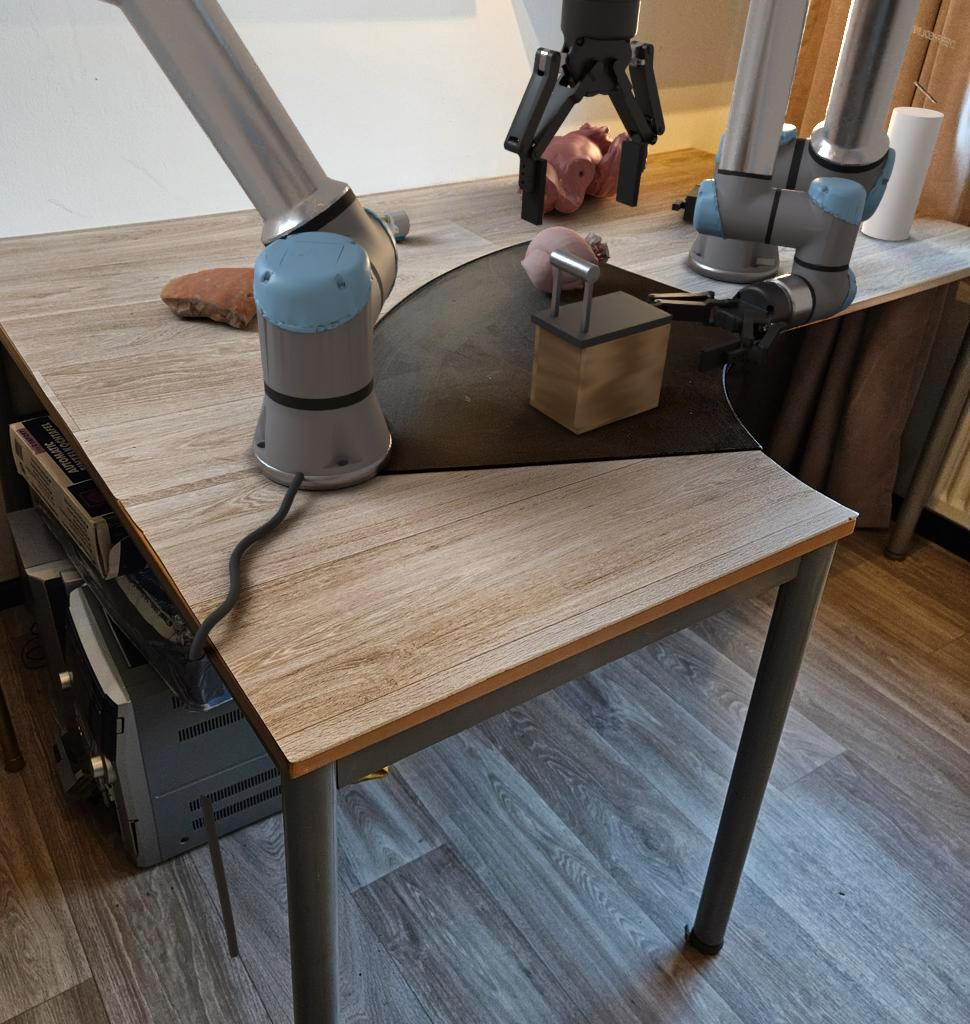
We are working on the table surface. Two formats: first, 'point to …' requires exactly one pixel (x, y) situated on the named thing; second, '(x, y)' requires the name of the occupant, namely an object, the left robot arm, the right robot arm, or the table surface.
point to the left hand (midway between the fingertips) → (580, 212)
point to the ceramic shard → (213, 295)
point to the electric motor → (397, 223)
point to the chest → (597, 378)
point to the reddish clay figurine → (581, 167)
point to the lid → (594, 308)
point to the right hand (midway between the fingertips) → (661, 341)
